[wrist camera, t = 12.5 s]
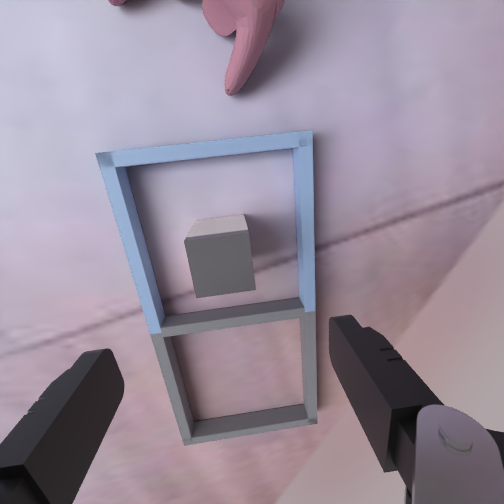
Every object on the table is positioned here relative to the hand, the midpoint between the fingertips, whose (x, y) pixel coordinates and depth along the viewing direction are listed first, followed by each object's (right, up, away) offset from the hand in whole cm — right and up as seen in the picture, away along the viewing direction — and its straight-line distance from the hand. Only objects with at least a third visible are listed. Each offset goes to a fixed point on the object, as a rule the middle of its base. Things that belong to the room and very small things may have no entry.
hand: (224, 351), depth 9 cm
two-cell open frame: (-1, -2, +15) cm, 15 cm away
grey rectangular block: (-1, +5, +12) cm, 13 cm away
